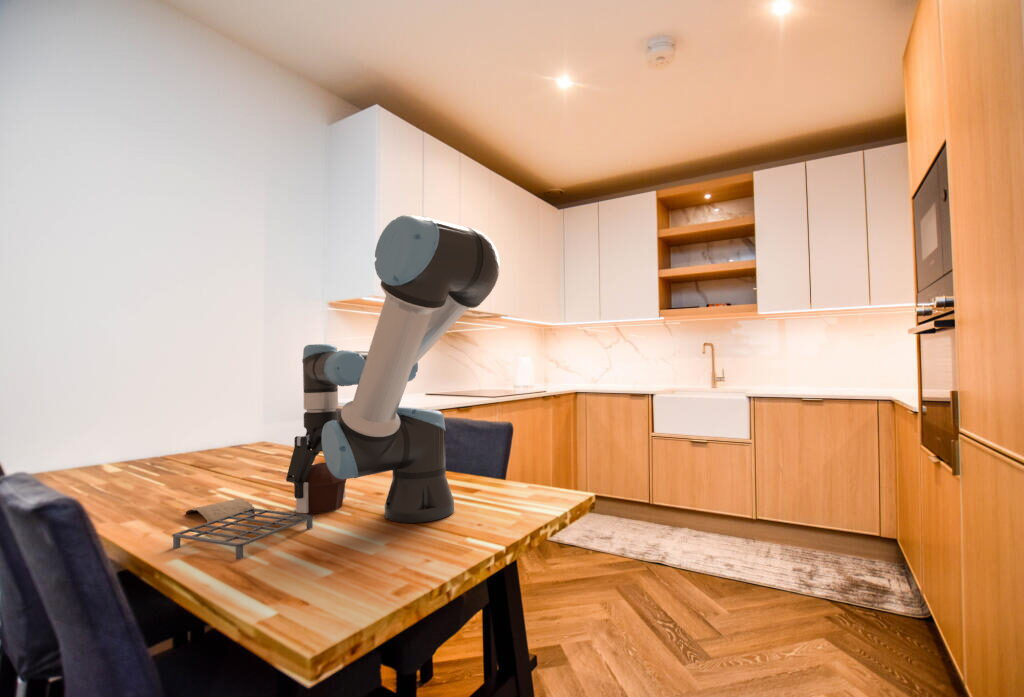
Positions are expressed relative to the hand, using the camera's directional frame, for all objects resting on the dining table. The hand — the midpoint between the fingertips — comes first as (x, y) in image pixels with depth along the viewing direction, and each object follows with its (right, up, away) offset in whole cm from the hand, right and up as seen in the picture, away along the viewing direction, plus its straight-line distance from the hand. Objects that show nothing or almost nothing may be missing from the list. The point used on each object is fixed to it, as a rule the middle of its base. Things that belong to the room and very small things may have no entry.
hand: (322, 505), depth 112 cm
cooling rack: (-7, 0, -19) cm, 20 cm away
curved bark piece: (-22, -2, -2) cm, 23 cm away
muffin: (0, -1, 0) cm, 1 cm away
